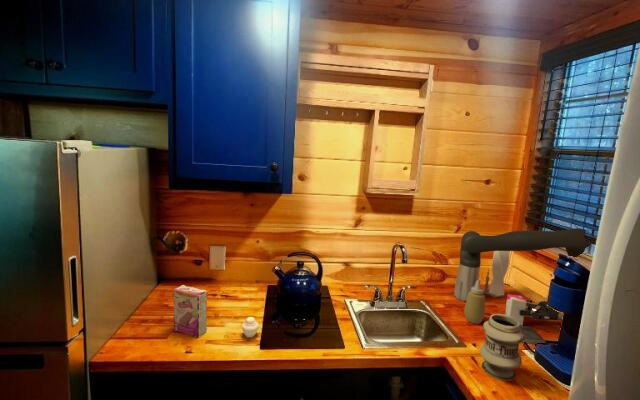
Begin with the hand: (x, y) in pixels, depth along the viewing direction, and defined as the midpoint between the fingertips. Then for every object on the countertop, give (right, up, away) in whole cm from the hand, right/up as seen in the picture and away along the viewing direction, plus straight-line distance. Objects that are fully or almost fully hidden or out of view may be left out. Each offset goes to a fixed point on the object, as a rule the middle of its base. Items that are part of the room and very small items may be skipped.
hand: (514, 307), depth 144 cm
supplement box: (0, -7, +1) cm, 7 cm away
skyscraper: (+7, -3, +30) cm, 31 cm away
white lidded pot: (-108, -4, -19) cm, 110 cm away
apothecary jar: (-24, -11, -32) cm, 42 cm away
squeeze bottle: (-17, -6, +1) cm, 18 cm away
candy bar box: (-130, -3, -19) cm, 132 cm away
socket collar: (-2, -8, -10) cm, 13 cm away
